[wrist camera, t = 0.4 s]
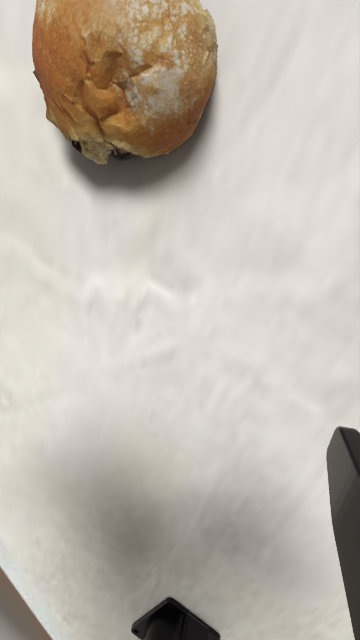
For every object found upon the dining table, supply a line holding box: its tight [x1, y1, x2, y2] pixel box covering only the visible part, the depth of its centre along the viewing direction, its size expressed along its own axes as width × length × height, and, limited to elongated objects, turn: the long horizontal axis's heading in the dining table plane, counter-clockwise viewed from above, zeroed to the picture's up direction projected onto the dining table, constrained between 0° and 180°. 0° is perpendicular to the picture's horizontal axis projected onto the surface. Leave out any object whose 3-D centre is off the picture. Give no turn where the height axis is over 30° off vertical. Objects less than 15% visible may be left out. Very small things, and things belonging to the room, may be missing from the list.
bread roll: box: [32, 0, 218, 165], centre depth 18 cm, size 10×10×8 cm
